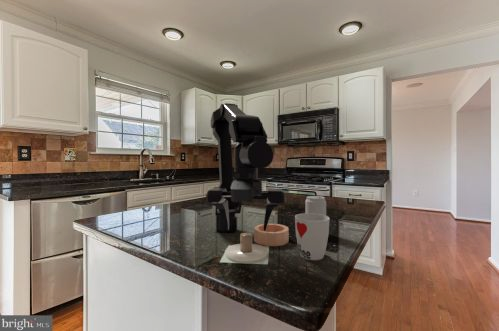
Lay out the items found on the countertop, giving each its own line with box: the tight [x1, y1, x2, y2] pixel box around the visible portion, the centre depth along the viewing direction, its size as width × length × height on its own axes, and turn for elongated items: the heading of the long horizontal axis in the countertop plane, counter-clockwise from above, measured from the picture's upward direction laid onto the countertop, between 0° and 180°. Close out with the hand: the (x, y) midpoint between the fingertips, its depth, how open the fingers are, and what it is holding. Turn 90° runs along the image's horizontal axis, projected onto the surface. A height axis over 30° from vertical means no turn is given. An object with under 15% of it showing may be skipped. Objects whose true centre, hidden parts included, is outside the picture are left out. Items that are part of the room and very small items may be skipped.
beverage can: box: [304, 195, 327, 216], centre depth 77 cm, size 6×6×12 cm
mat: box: [219, 244, 270, 265], centre depth 60 cm, size 11×11×1 cm
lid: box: [224, 232, 267, 264], centre depth 60 cm, size 10×10×5 cm
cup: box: [294, 212, 331, 261], centre depth 58 cm, size 8×8×10 cm
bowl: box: [253, 223, 290, 247], centre depth 70 cm, size 10×10×4 cm
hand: (246, 230), depth 60 cm, fingers open, 9 cm apart
